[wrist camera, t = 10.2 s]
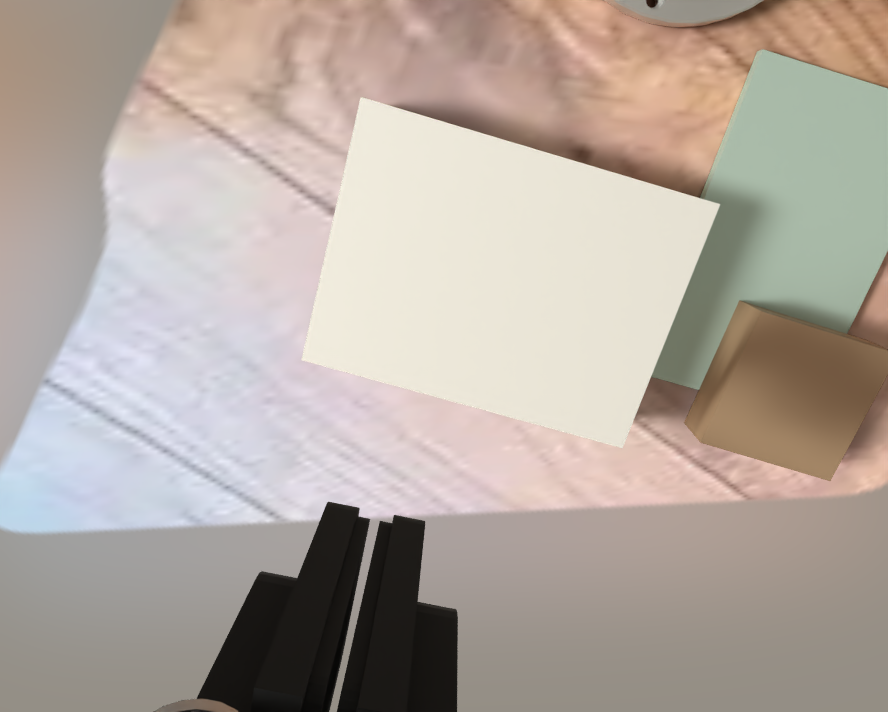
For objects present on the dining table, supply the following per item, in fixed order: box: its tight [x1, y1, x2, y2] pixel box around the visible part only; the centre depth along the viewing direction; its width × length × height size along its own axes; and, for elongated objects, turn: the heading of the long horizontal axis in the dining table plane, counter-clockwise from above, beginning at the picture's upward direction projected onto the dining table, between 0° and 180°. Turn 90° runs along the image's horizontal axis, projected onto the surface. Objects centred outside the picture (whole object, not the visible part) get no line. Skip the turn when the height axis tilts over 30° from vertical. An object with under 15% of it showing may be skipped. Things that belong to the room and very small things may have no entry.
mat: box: [651, 50, 888, 390], centre depth 32 cm, size 16×10×1 cm, turn 164°
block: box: [684, 300, 888, 481], centre depth 32 cm, size 7×7×2 cm
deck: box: [302, 97, 720, 448], centre depth 31 cm, size 12×16×4 cm
